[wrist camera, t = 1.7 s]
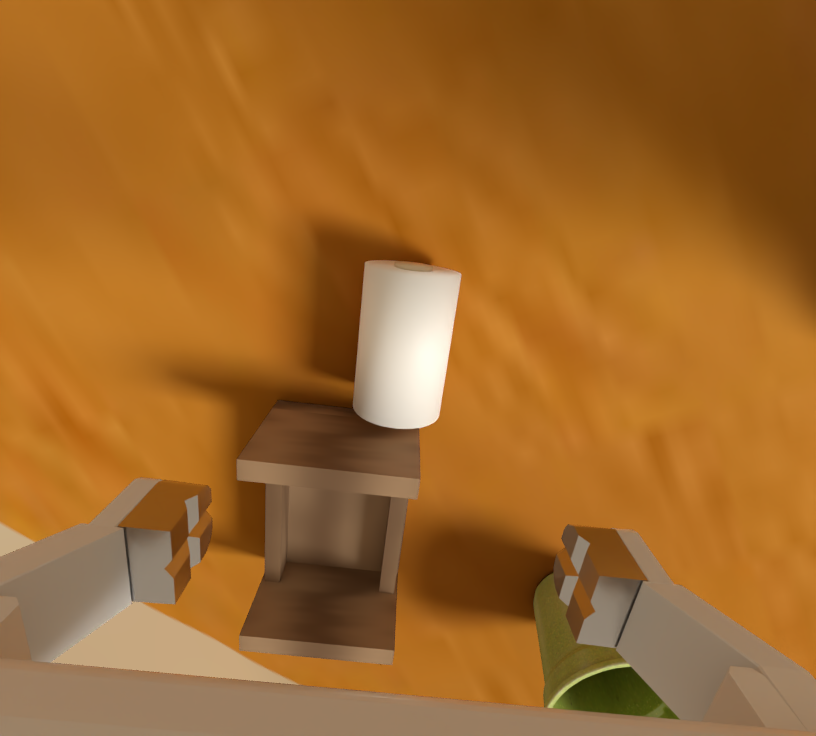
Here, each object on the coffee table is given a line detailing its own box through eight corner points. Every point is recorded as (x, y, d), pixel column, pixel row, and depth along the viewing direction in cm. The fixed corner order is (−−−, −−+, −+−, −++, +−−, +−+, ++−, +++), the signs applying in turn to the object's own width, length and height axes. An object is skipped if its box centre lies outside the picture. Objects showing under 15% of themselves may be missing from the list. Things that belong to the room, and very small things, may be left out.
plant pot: (662, 594, 33) (743, 720, 25) (565, 659, 36) (611, 792, 28) (582, 524, 31) (641, 636, 23) (485, 598, 34) (508, 723, 25)
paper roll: (370, 253, 25) (359, 264, 20) (457, 264, 25) (466, 277, 20) (358, 389, 28) (346, 426, 23) (437, 398, 28) (440, 437, 23)
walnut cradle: (418, 415, 28) (420, 479, 22) (396, 573, 33) (392, 665, 26) (278, 399, 28) (236, 459, 22) (274, 560, 33) (239, 650, 26)
